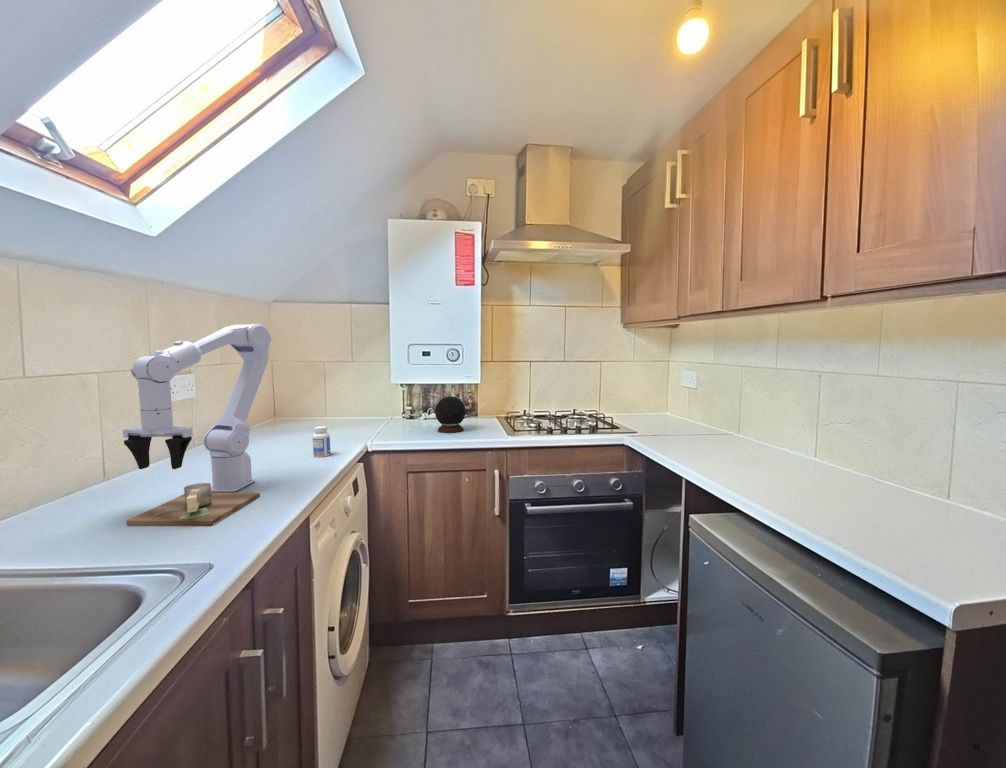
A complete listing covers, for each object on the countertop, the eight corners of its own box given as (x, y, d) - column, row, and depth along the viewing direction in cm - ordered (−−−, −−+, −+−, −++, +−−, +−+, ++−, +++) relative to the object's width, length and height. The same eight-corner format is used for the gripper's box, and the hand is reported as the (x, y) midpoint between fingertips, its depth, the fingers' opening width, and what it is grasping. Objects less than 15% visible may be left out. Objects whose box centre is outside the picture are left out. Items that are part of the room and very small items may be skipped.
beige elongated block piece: (187, 501, 105) (186, 484, 104) (212, 498, 107) (211, 481, 106) (177, 518, 94) (176, 499, 94) (206, 514, 97) (205, 496, 96)
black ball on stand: (435, 434, 190) (434, 398, 189) (435, 428, 203) (434, 395, 202) (467, 433, 192) (466, 397, 191) (464, 427, 205) (464, 394, 204)
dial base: (187, 496, 113) (187, 491, 113) (259, 496, 112) (259, 491, 112) (126, 525, 95) (126, 519, 95) (212, 525, 94) (211, 519, 94)
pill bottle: (325, 452, 158) (324, 425, 157) (333, 455, 155) (332, 426, 154) (310, 455, 154) (309, 427, 153) (318, 458, 150) (317, 429, 150)
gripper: (109, 411, 99) (114, 472, 100) (174, 411, 99) (179, 472, 100) (135, 407, 106) (140, 464, 107) (197, 407, 106) (200, 464, 107)
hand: (160, 468), depth 104 cm, fingers open, 7 cm apart
